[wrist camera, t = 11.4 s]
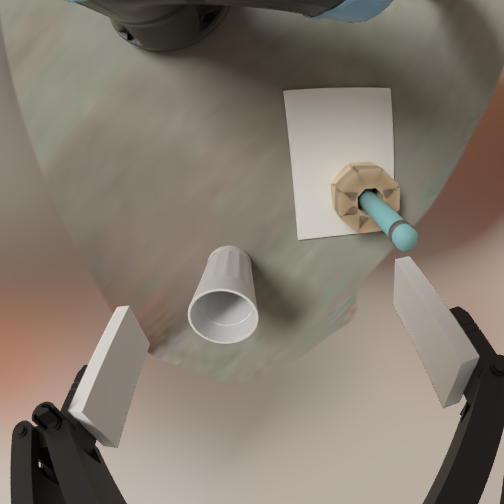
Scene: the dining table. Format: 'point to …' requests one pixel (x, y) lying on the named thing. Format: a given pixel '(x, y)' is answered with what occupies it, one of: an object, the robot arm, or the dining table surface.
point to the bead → (353, 184)
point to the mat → (334, 147)
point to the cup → (225, 298)
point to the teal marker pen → (388, 221)
